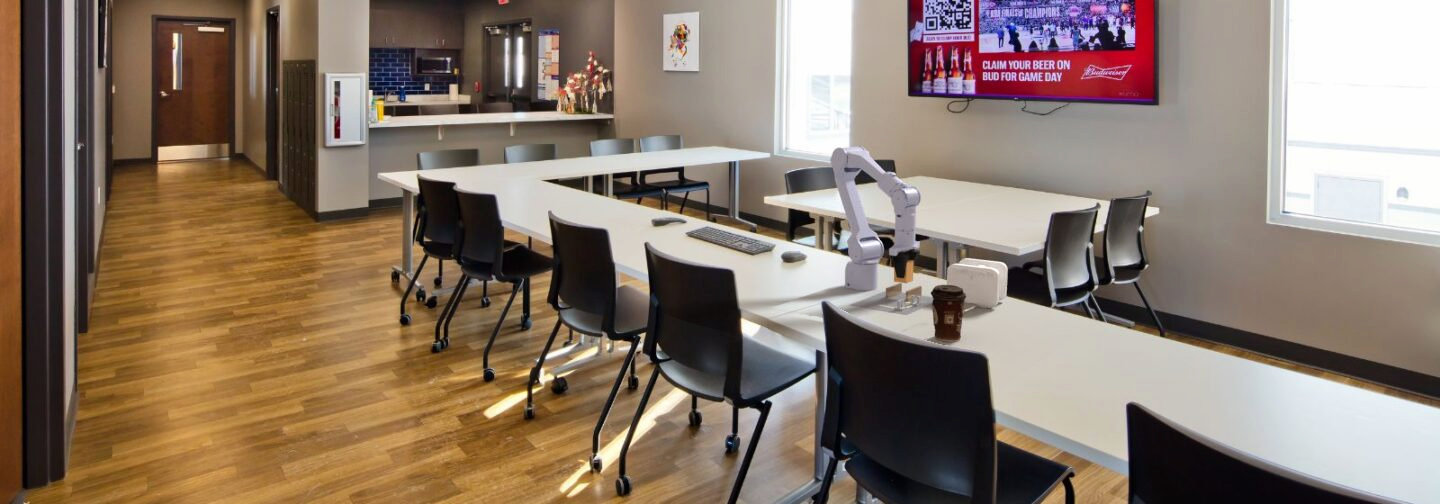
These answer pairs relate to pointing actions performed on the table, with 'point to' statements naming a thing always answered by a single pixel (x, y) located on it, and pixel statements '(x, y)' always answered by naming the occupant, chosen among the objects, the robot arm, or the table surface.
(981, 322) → the table surface
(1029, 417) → the table surface
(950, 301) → the coffee cup
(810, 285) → the table surface
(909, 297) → the end holder
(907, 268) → the orange rectangular block
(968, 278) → the cable organizer
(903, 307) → the mat
